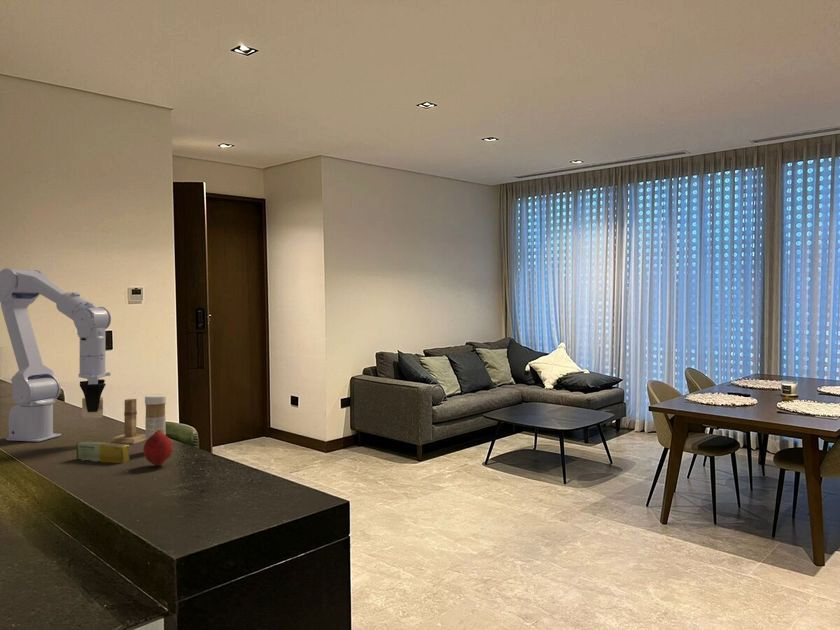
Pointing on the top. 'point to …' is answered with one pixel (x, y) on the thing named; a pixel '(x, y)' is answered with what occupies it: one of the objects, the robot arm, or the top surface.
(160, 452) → the onion
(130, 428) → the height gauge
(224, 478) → the top surface
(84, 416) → the cube
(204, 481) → the top surface
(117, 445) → the medication box
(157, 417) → the sprinkles bottle
